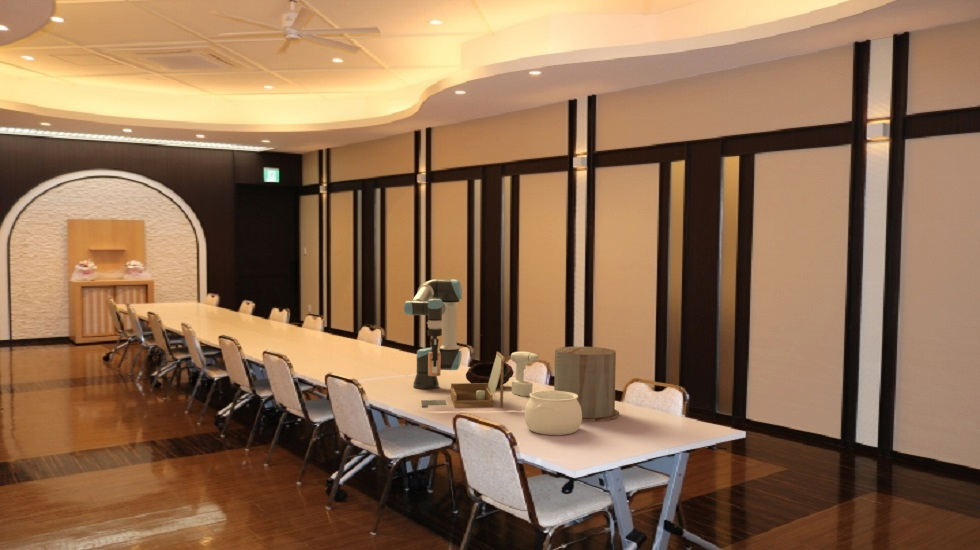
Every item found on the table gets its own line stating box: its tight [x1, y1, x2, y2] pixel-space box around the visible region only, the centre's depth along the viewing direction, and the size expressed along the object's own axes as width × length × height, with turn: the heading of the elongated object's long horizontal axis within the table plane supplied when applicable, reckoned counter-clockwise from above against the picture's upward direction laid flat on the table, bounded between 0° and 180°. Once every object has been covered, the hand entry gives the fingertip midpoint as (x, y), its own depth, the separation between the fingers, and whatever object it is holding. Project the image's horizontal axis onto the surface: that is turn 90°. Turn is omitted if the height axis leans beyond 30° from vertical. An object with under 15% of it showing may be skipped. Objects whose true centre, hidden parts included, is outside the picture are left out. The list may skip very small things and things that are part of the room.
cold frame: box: [450, 359, 505, 409], centre depth 396 cm, size 26×25×26 cm
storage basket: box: [553, 346, 620, 423], centre depth 377 cm, size 35×35×32 cm
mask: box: [465, 361, 514, 388], centre depth 448 cm, size 18×14×30 cm
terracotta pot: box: [428, 352, 442, 377], centre depth 394 cm, size 7×7×12 cm
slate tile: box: [420, 399, 448, 408], centre depth 395 cm, size 13×13×1 cm
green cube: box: [476, 390, 485, 401], centre depth 398 cm, size 5×5×6 cm
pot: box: [524, 390, 582, 436], centre depth 343 cm, size 29×26×16 cm
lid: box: [488, 351, 506, 395], centre depth 399 cm, size 23×20×1 cm
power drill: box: [510, 351, 540, 397], centre depth 424 cm, size 8×24×25 cm, turn 31°
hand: (434, 371), depth 394 cm, fingers closed on terracotta pot, 7 cm apart
